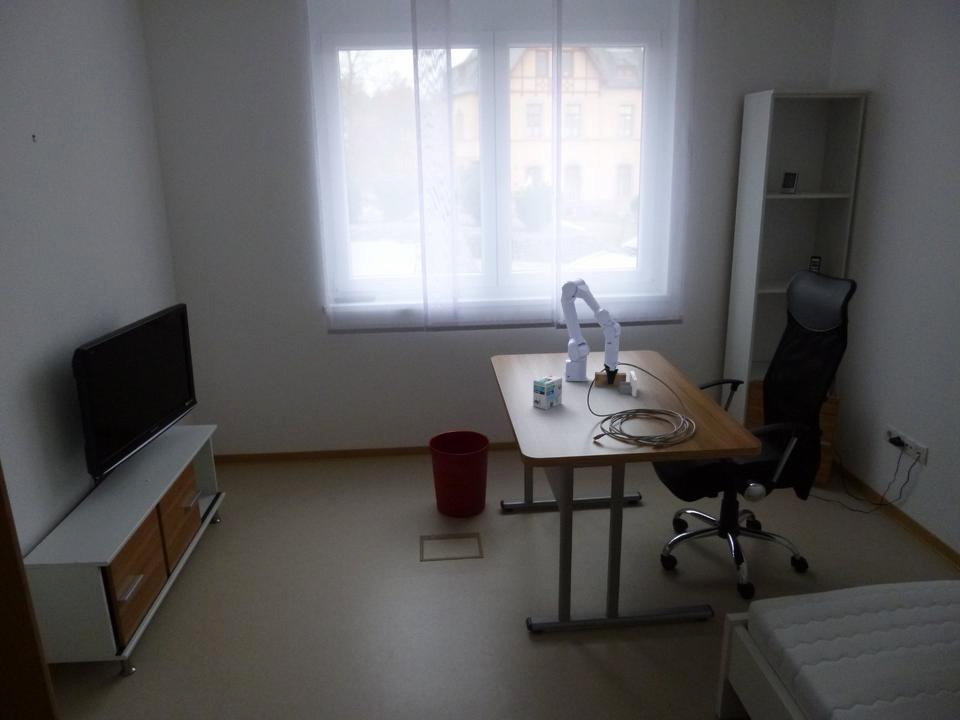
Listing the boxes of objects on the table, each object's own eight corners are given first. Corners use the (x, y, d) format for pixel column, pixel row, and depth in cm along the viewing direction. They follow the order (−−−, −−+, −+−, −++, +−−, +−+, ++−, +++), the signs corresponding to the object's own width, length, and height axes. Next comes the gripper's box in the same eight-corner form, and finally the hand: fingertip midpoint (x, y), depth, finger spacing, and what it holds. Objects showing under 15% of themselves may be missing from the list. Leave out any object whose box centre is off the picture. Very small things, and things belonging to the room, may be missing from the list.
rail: (594, 386, 297) (595, 374, 295) (594, 384, 300) (595, 372, 298) (625, 387, 295) (626, 374, 294) (625, 385, 298) (625, 372, 297)
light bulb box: (545, 410, 267) (546, 383, 265) (532, 406, 272) (532, 380, 269) (562, 403, 275) (563, 377, 272) (548, 399, 279) (549, 374, 277)
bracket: (621, 396, 283) (622, 379, 281) (618, 386, 296) (619, 370, 294) (636, 396, 283) (637, 380, 281) (632, 386, 295) (633, 371, 293)
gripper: (622, 356, 286) (621, 387, 290) (619, 347, 300) (618, 377, 304) (605, 355, 287) (604, 387, 291) (603, 347, 301) (601, 377, 304)
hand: (610, 382), depth 297 cm, fingers open, 5 cm apart
